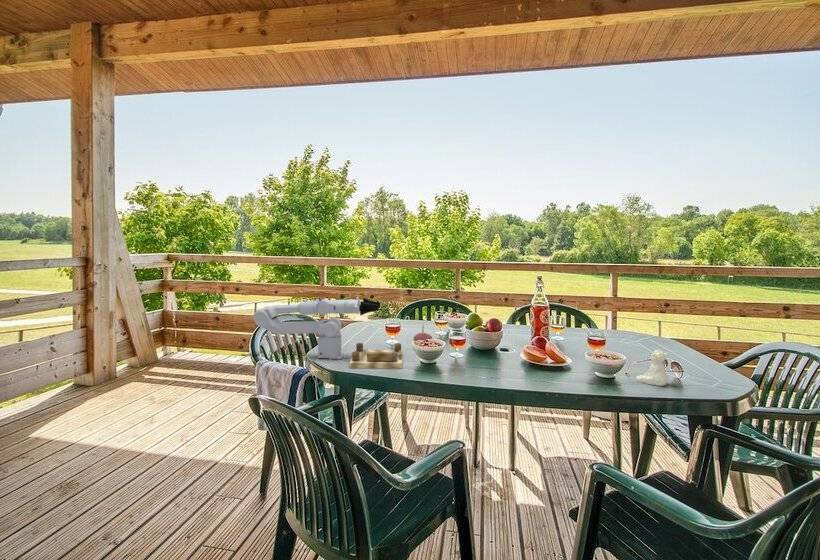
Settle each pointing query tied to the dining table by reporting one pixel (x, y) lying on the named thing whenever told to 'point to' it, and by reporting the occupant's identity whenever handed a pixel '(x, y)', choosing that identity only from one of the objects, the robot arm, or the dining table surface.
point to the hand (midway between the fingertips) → (379, 306)
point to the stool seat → (361, 361)
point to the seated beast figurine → (655, 370)
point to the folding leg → (382, 356)
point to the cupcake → (422, 335)
